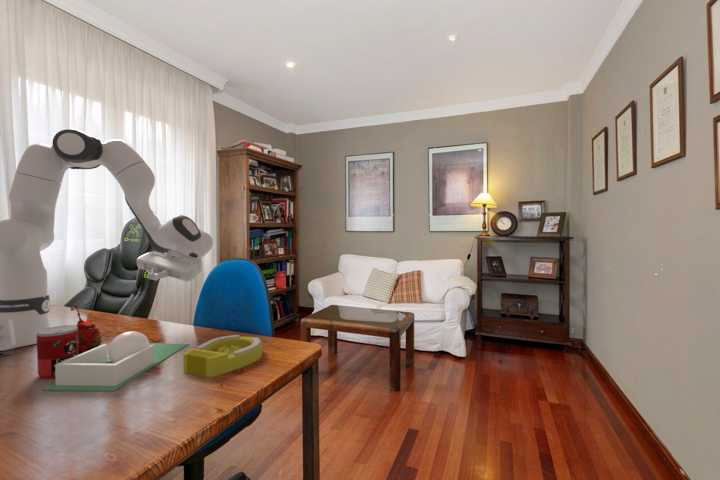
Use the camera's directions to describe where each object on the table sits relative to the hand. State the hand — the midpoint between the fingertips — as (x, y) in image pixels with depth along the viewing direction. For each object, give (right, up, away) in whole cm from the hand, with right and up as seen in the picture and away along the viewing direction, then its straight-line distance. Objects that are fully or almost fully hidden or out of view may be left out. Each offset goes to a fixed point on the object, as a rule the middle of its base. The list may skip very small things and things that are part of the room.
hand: (151, 277), depth 111 cm
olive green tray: (+31, -21, -17) cm, 41 cm away
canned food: (-8, -21, -25) cm, 34 cm away
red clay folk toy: (-13, -21, -10) cm, 27 cm away
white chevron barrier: (+6, -21, -26) cm, 34 cm away
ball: (+7, -16, -21) cm, 28 cm away
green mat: (+6, -21, -20) cm, 29 cm away
